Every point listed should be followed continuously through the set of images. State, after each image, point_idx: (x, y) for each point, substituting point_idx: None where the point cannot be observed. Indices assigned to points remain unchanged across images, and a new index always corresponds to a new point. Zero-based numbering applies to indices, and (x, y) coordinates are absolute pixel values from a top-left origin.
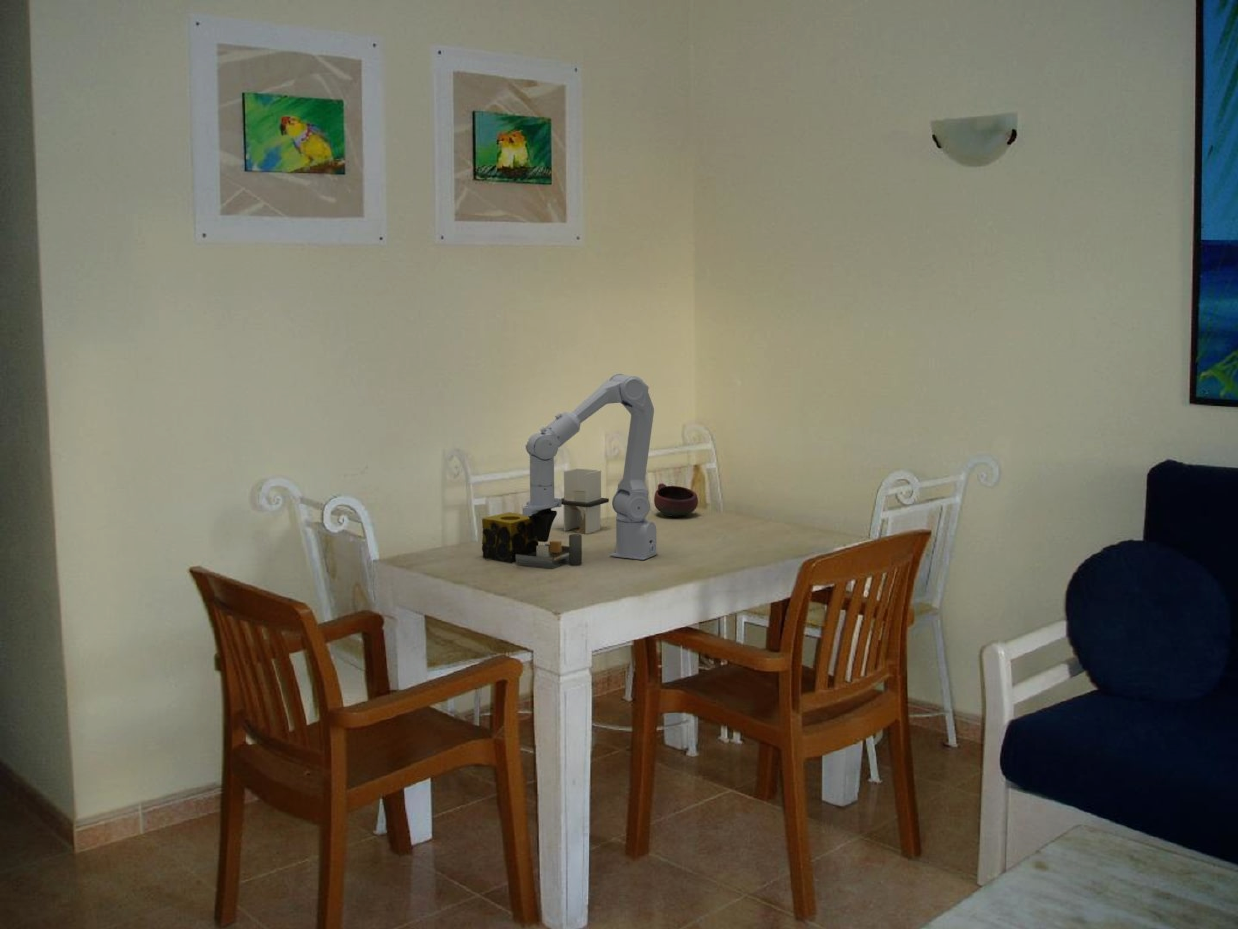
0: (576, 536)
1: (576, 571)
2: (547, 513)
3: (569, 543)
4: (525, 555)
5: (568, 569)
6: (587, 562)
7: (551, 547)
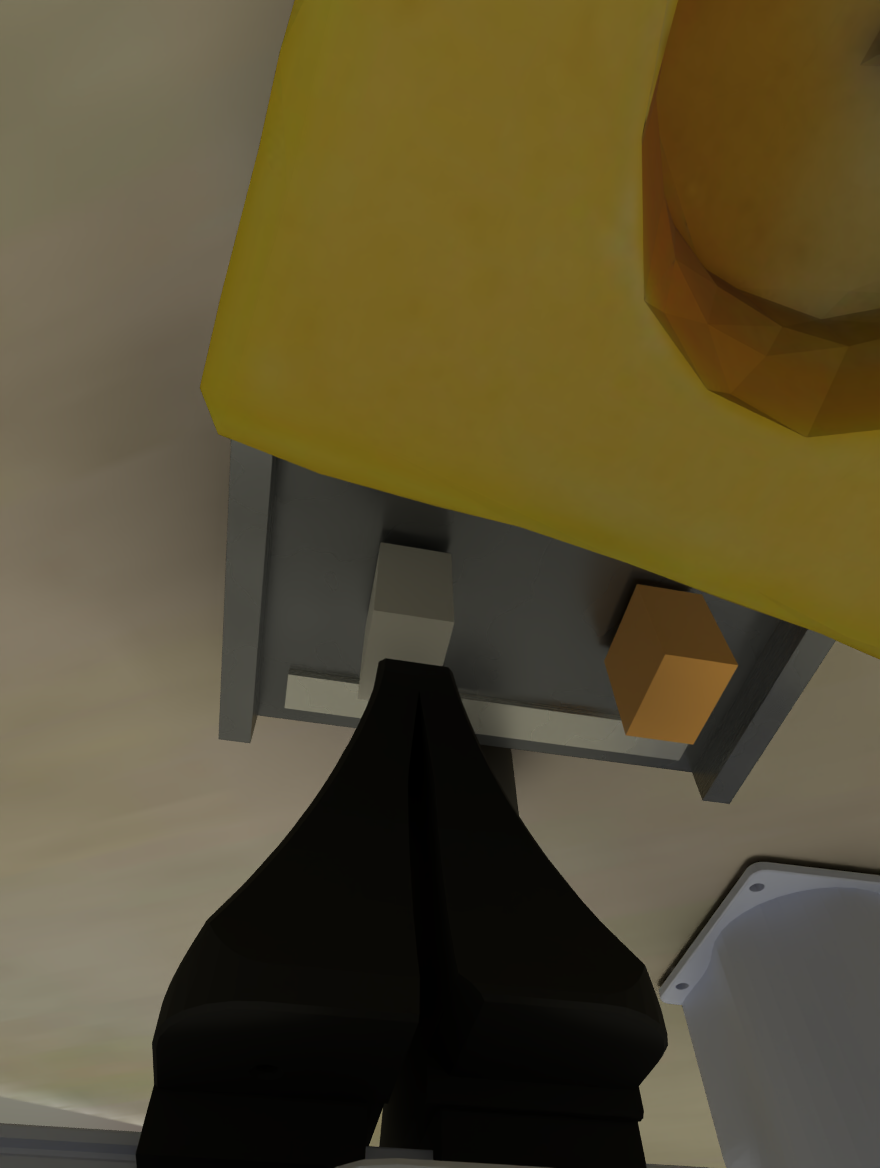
0: None
1: (255, 811)
2: (391, 1146)
3: None
4: (234, 488)
5: (290, 760)
6: (554, 797)
7: (640, 632)
